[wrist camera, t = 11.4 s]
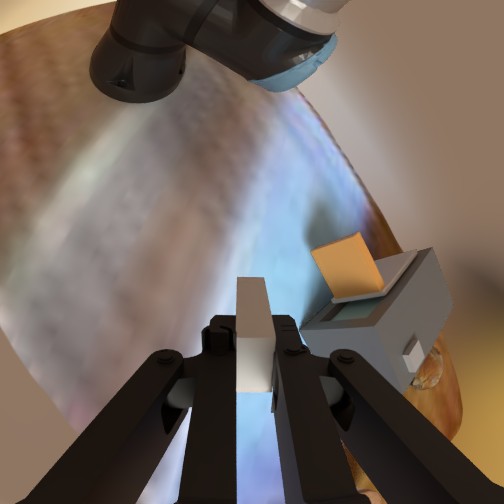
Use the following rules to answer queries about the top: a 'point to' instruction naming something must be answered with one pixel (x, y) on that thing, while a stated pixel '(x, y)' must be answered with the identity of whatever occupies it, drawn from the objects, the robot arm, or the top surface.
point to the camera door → (358, 269)
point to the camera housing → (388, 322)
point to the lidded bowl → (370, 495)
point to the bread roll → (429, 371)
